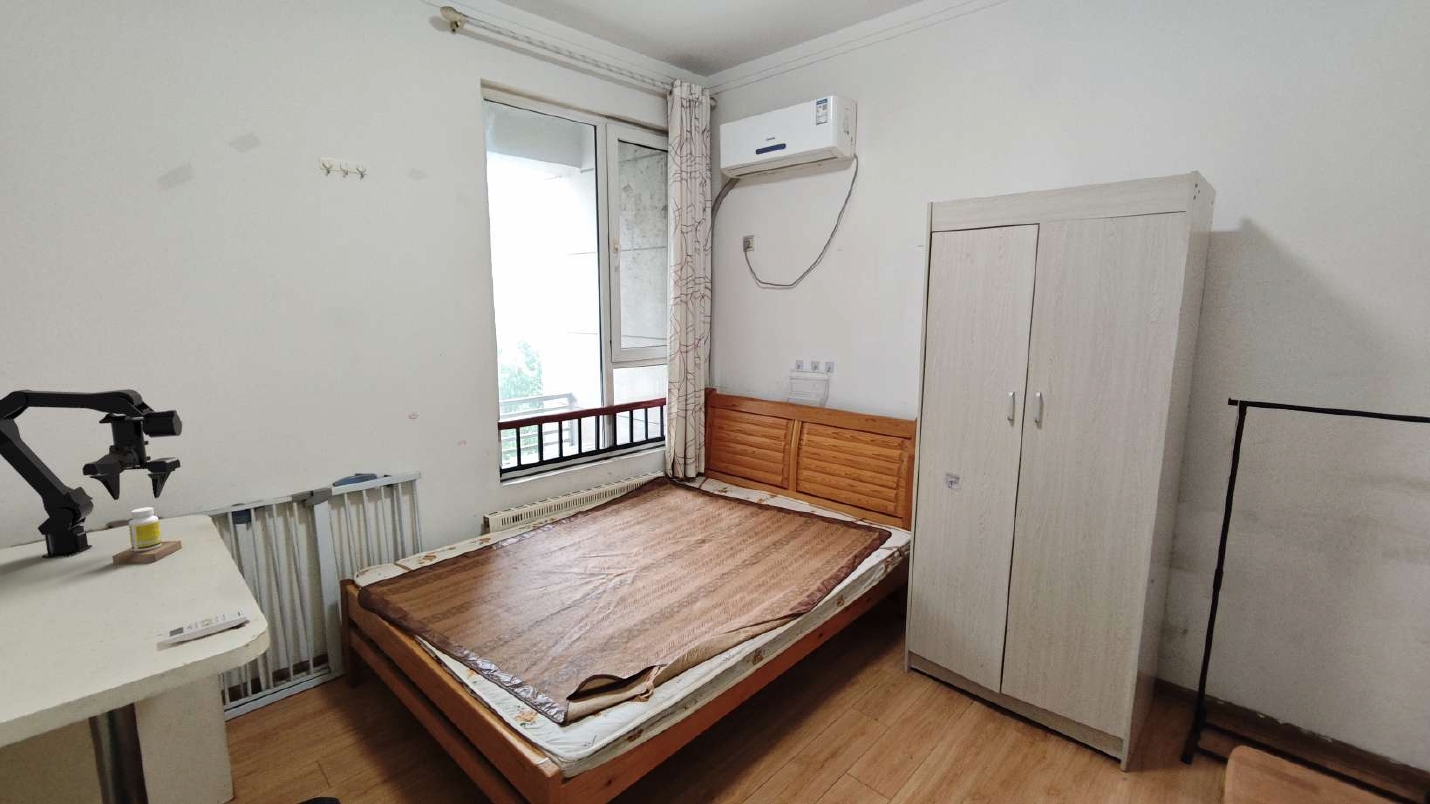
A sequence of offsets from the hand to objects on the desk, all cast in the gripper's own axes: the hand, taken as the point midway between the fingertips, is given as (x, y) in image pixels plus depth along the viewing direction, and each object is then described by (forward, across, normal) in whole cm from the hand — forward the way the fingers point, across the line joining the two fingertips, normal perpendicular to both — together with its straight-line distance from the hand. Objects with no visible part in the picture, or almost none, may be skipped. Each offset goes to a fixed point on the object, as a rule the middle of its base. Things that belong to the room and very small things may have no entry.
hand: (136, 498), depth 159 cm
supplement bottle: (+10, +8, -10) cm, 16 cm away
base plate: (+12, +8, -10) cm, 18 cm away
